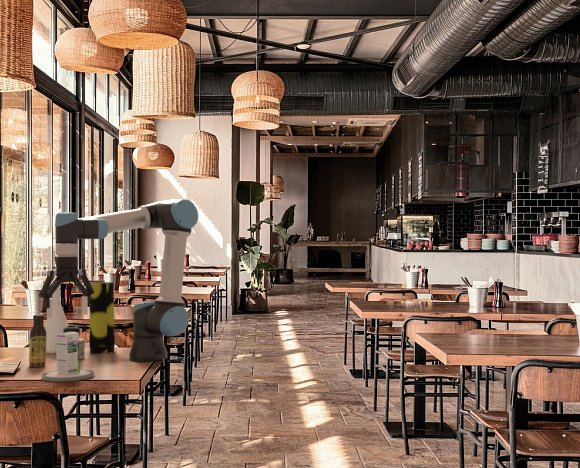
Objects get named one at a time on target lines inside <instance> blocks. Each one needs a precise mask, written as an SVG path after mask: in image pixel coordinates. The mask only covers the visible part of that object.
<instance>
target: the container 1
mask: <svg viewBox="0 0 580 468" xmlns="http://www.w3.org/2000/svg"><path fill="white" fill-rule="evenodd" d="M65 332H78V333H79V356H80V360H81V359H84V358H85V357H86V356H85V355H86V354H85V353H86V352H85V351H86V350H85V348H86V347H85V344H86V343H85V338H80V337H81V328H80V327H78V326H68V327H66V328H64V329H63V333H65Z"/></svg>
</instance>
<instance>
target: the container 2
mask: <svg viewBox="0 0 580 468" xmlns="http://www.w3.org/2000/svg"><path fill="white" fill-rule="evenodd" d="M90 284H91V286H92V288H93V290H94V294H91V296H89V340H88V342H89V344H88V345H89V346H88V347H89V353H91V354H95V355H97V354H98V353H104V354H111V352H112V353H114V352H115V345H116V342H115V341H116V339H115V338H116V336H115V296H114V293H115V292H114V290H115V289H114V287H115V286H114V285H115V284H114V282H109V281H108V282H106V281H105V282H90ZM98 355H99V354H98Z"/></svg>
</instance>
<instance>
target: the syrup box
mask: <svg viewBox="0 0 580 468" xmlns="http://www.w3.org/2000/svg"><path fill="white" fill-rule="evenodd" d="M79 339H80V338H79V333H78V332H65V333H58V334H56V353H57V354H56V371H57V374H61V375H70V374H75V373H80V370H81V365H80V364H81V362H80V360H81V359H80V356H79Z"/></svg>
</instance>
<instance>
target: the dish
mask: <svg viewBox="0 0 580 468" xmlns="http://www.w3.org/2000/svg"><path fill="white" fill-rule="evenodd" d="M94 377H95V371H94V370H89V369H80V373H75V374H70V375H61V374H57V370H53V371H48V372H44V373H42V374H41V380H42V381H44V382H50V383H51V382H52V383H67V382H68V383H69V382H77V381H78V382H79V381H85V380H88V379H89V380H90V379H91V378H92V379H93V378H94Z"/></svg>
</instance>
